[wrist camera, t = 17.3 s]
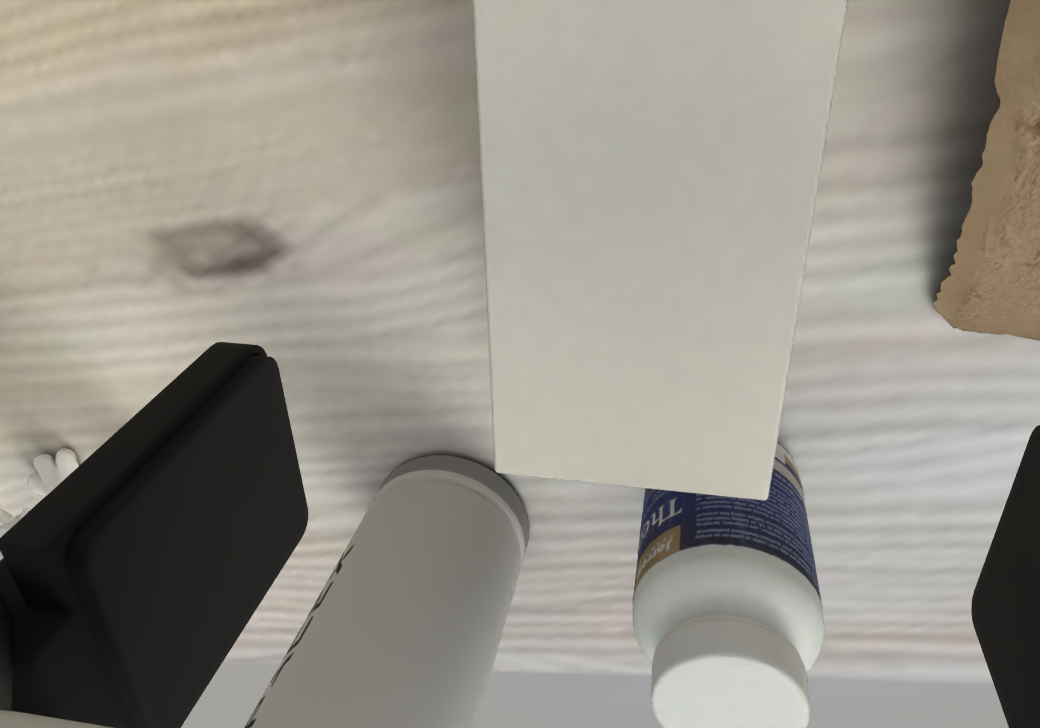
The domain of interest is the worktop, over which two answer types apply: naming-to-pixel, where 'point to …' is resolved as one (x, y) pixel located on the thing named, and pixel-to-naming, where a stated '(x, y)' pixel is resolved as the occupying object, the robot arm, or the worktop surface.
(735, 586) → the pill bottle
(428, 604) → the travel mug
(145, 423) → the robot arm
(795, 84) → the white box
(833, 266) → the worktop surface
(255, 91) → the worktop surface
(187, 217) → the worktop surface
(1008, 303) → the clay tablet
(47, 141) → the worktop surface
